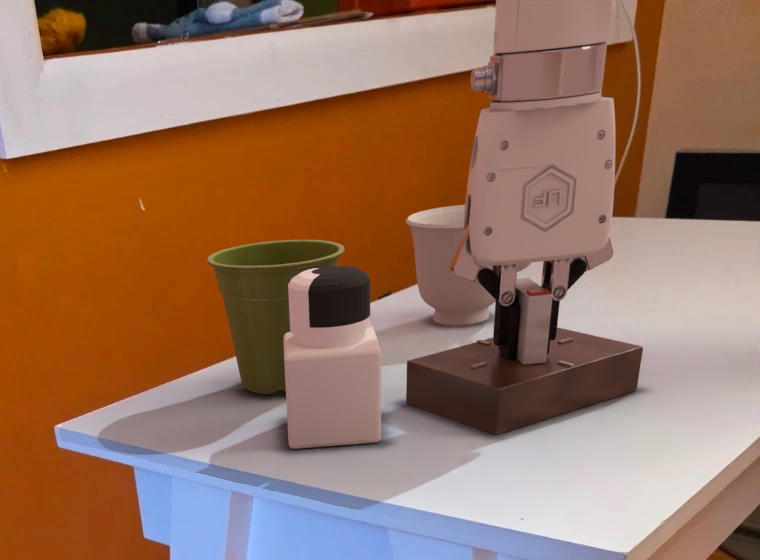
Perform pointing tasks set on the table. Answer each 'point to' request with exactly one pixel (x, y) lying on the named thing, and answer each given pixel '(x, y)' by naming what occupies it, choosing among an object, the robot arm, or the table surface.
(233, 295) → the plant pot
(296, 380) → the medicine bottle
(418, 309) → the table surface
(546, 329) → the tap handle
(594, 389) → the tap base
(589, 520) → the table surface
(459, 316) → the teacup
